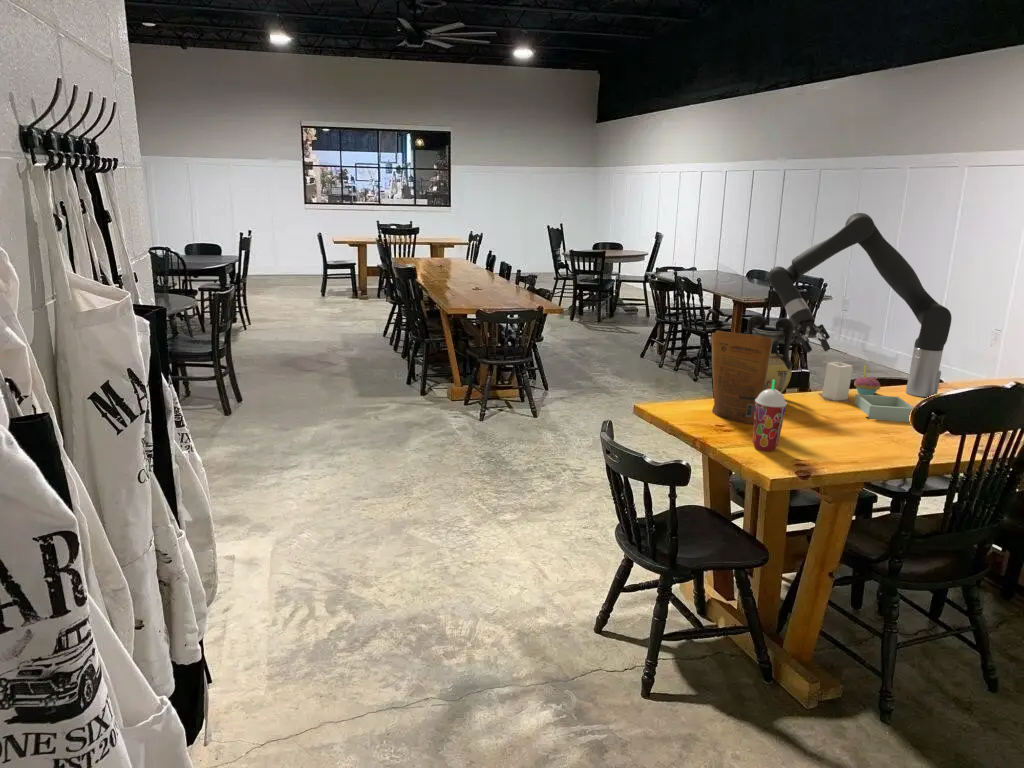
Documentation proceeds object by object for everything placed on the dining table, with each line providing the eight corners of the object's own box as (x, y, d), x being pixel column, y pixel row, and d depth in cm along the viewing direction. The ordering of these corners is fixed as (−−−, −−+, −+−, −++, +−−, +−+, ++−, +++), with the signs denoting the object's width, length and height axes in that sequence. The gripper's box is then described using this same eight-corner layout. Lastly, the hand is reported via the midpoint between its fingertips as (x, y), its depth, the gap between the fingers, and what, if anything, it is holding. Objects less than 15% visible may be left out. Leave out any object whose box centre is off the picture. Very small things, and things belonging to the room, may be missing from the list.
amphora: (729, 403, 248) (740, 316, 240) (739, 392, 262) (749, 309, 254) (784, 412, 240) (796, 322, 232) (791, 400, 254) (803, 315, 246)
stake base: (843, 398, 259) (847, 373, 256) (851, 405, 250) (856, 379, 248) (817, 396, 260) (820, 371, 257) (824, 403, 251) (828, 378, 249)
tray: (896, 409, 247) (898, 396, 246) (913, 422, 234) (915, 408, 233) (853, 406, 249) (855, 394, 247) (867, 419, 235) (870, 406, 234)
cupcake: (858, 399, 258) (863, 366, 255) (848, 392, 266) (853, 360, 263) (882, 400, 258) (888, 367, 255) (872, 393, 266) (877, 361, 263)
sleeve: (834, 394, 258) (839, 361, 255) (847, 399, 253) (852, 365, 250) (822, 396, 256) (827, 363, 253) (835, 400, 251) (840, 366, 248)
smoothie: (785, 448, 206) (795, 380, 200) (771, 455, 200) (781, 385, 195) (758, 440, 211) (766, 374, 206) (743, 447, 206) (752, 378, 200)
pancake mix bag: (757, 428, 222) (768, 338, 215) (701, 413, 235) (710, 328, 228) (767, 423, 227) (778, 336, 220) (712, 409, 240) (721, 326, 232)
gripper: (790, 308, 261) (810, 346, 254) (820, 307, 266) (840, 344, 259) (778, 320, 267) (797, 357, 260) (807, 318, 272) (826, 355, 265)
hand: (818, 350), depth 260 cm, fingers open, 8 cm apart
